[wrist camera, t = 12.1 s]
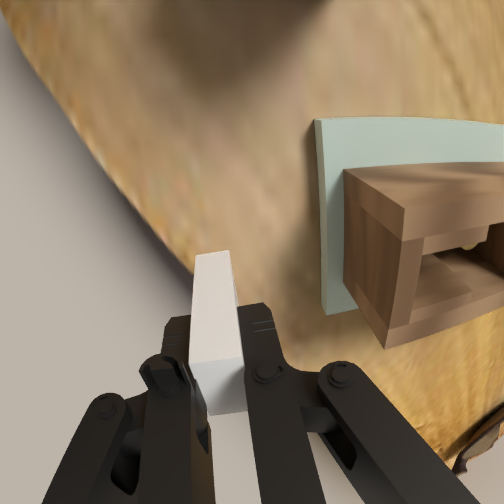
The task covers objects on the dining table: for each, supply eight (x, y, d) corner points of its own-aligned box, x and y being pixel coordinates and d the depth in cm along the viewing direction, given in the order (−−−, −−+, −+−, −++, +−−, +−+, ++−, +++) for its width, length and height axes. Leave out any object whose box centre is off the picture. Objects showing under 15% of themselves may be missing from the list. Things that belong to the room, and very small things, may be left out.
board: (321, 304, 21) (341, 347, 17) (313, 118, 15) (345, 126, 11) (547, 243, 22) (572, 261, 18) (564, 136, 16) (594, 148, 13)
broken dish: (531, 393, 45) (546, 413, 38) (436, 467, 51) (446, 490, 44) (542, 355, 36) (563, 380, 29) (420, 454, 42) (435, 485, 35)
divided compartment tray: (342, 282, 19) (384, 349, 13) (343, 169, 15) (404, 208, 10) (530, 237, 20) (574, 269, 14) (543, 162, 16) (594, 187, 11)
